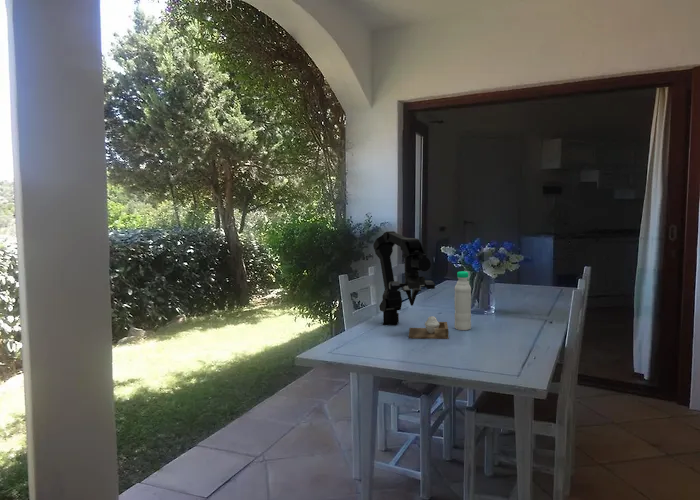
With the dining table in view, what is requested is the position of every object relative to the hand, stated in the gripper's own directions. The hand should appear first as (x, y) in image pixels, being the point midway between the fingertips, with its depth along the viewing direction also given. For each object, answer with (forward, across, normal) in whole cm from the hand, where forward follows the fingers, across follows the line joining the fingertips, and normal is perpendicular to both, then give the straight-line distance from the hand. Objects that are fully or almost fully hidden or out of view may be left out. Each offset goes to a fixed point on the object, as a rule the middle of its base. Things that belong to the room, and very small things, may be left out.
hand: (411, 305), depth 207 cm
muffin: (+11, +8, -3) cm, 14 cm away
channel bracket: (+12, +6, -2) cm, 14 cm away
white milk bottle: (+12, +23, +5) cm, 27 cm away
